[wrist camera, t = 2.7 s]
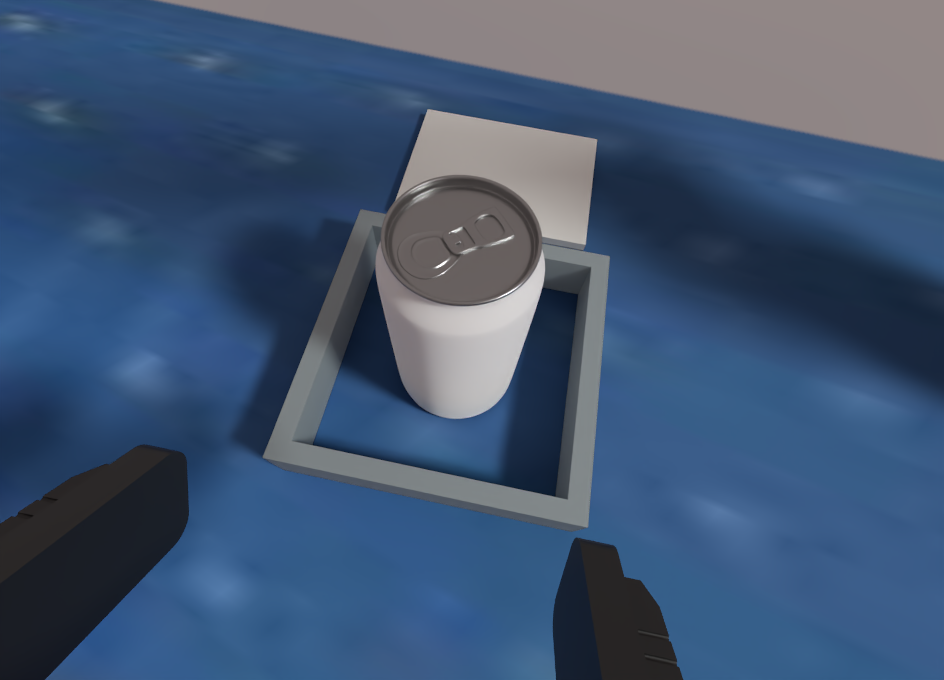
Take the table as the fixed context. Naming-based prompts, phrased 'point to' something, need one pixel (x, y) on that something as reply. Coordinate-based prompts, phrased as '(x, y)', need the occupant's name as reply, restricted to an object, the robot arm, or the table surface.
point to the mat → (513, 167)
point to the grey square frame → (561, 512)
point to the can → (459, 289)
